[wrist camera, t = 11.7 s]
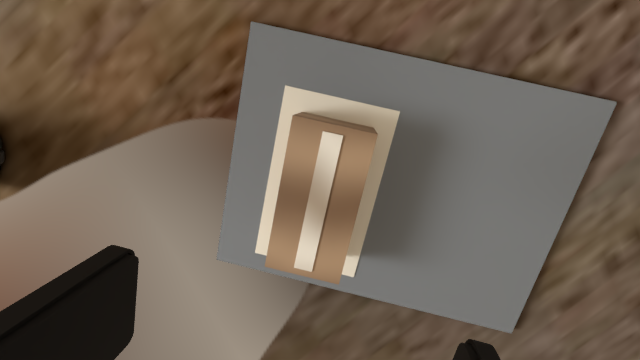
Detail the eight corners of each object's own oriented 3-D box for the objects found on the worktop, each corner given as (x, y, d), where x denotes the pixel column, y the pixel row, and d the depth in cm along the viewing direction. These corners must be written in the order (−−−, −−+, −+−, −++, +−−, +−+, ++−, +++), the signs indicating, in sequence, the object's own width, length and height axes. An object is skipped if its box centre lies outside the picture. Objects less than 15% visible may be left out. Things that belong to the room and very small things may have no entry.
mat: (609, 101, 21) (618, 102, 20) (508, 328, 26) (512, 334, 25) (253, 23, 22) (250, 21, 21) (219, 256, 27) (216, 260, 26)
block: (340, 255, 25) (338, 285, 21) (278, 240, 25) (264, 267, 21) (373, 127, 22) (378, 134, 18) (302, 111, 22) (292, 115, 18)
